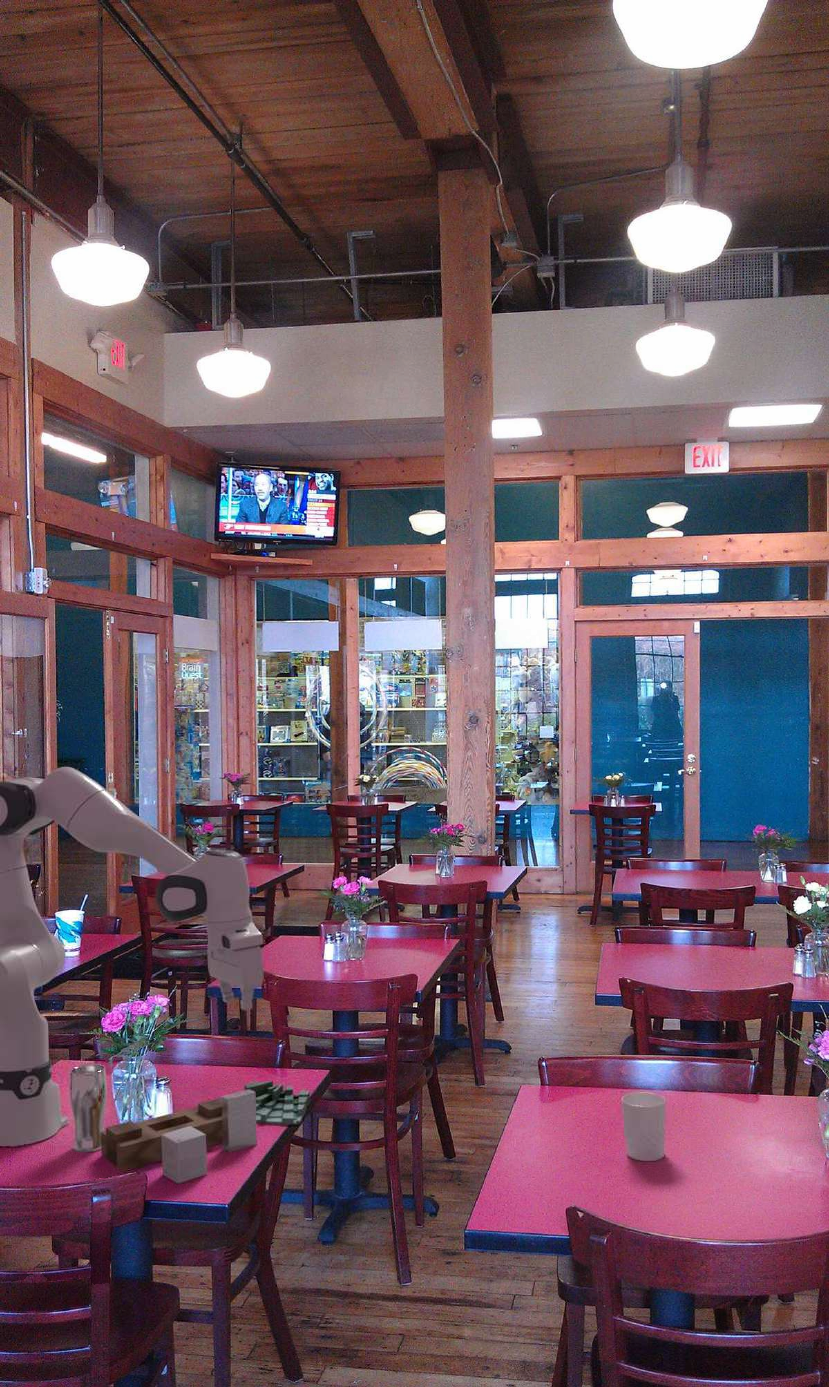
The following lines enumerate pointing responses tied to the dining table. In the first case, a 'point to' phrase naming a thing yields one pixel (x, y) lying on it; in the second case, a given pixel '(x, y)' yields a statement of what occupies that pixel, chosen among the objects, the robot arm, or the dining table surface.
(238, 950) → the robot arm
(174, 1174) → the product box
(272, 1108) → the money
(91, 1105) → the beer glass
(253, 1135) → the bracket
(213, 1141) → the wooden display stand
